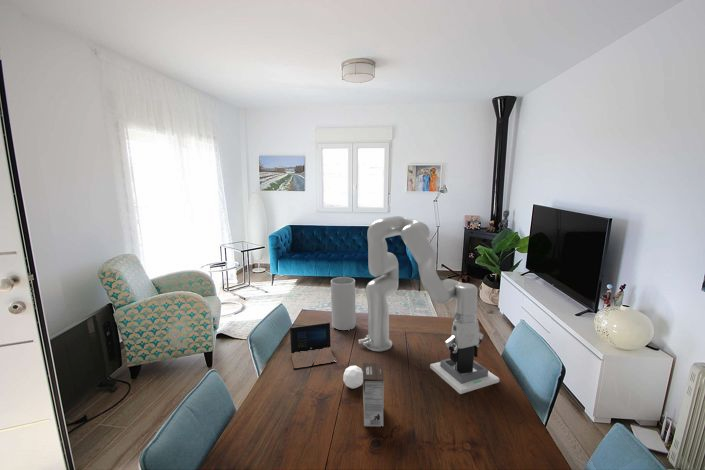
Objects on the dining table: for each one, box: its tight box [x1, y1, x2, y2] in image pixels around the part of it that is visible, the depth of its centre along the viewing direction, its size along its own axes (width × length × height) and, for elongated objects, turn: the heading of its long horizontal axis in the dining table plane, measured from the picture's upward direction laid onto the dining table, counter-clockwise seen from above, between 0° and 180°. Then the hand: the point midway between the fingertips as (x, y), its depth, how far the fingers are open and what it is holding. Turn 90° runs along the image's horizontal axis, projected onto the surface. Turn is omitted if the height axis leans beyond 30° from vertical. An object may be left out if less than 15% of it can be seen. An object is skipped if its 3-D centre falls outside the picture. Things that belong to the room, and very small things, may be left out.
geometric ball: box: [342, 365, 363, 389], centre depth 118 cm, size 8×8×8 cm
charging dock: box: [429, 357, 500, 395], centre depth 124 cm, size 18×18×4 cm
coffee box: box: [362, 362, 385, 427], centre depth 102 cm, size 9×6×16 cm
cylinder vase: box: [330, 276, 357, 331], centre depth 167 cm, size 12×12×25 cm
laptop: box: [289, 322, 337, 363], centre depth 137 cm, size 18×12×13 cm
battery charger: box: [453, 346, 475, 374], centre depth 124 cm, size 7×4×11 cm, turn 100°
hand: (463, 358), depth 124 cm, fingers open, 9 cm apart
